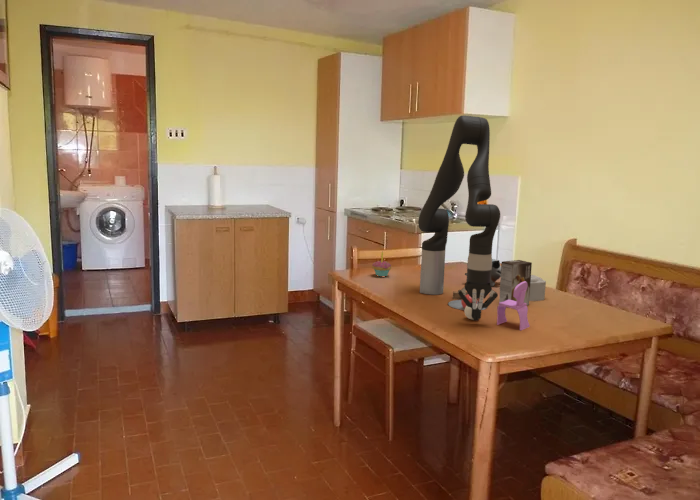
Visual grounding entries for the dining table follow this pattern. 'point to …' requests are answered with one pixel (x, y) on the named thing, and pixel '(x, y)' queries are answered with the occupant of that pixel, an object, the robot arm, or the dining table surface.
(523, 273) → the coffee box
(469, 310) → the cream ball
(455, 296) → the strip
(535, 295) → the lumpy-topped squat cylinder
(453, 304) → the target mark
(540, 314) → the dining table surface
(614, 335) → the dining table surface
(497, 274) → the lucky cat figurine
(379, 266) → the cupcake
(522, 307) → the toy chair
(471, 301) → the red ball
